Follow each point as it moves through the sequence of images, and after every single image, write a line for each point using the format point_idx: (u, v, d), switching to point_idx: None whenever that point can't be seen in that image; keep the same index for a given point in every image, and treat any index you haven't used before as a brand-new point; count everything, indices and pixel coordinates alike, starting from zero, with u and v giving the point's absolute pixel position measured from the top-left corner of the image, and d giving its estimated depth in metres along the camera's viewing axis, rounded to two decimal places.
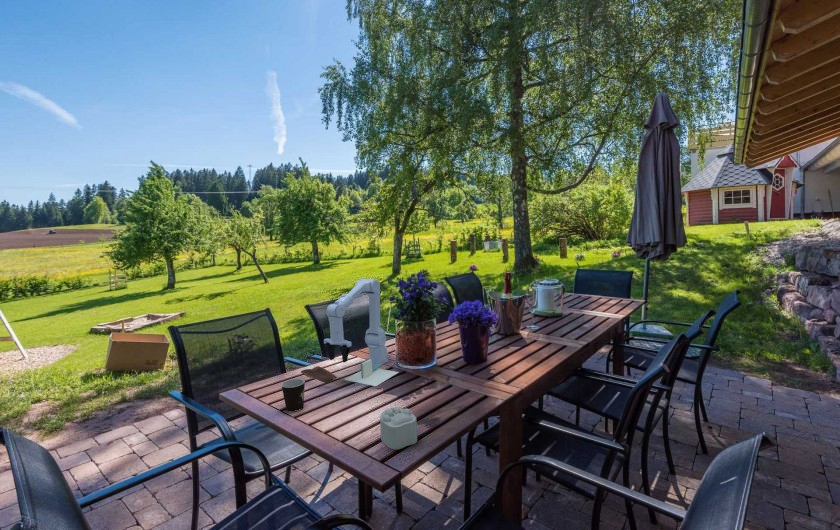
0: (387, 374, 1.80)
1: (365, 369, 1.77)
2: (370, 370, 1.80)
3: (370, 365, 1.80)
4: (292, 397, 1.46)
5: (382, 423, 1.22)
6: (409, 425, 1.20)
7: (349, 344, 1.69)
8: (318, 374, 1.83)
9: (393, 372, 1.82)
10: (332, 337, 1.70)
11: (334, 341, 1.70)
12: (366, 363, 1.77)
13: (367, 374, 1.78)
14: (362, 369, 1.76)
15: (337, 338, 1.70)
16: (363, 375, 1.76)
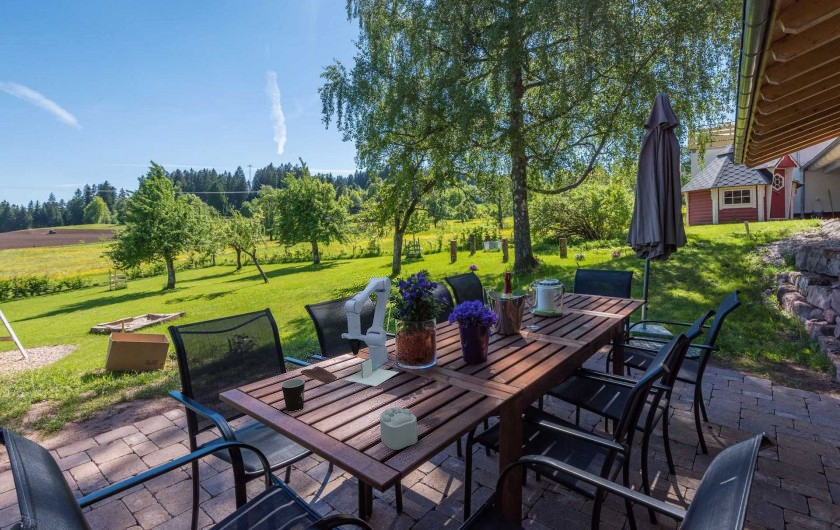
0: (387, 374, 1.80)
1: (365, 369, 1.77)
2: (370, 370, 1.80)
3: (370, 365, 1.80)
4: (292, 397, 1.46)
5: (382, 423, 1.22)
6: (409, 425, 1.20)
7: (366, 338, 1.77)
8: (317, 374, 1.83)
9: (393, 372, 1.82)
10: (350, 332, 1.78)
11: (352, 336, 1.78)
12: (366, 363, 1.77)
13: (367, 374, 1.78)
14: (362, 369, 1.76)
15: (355, 333, 1.78)
16: (363, 375, 1.76)
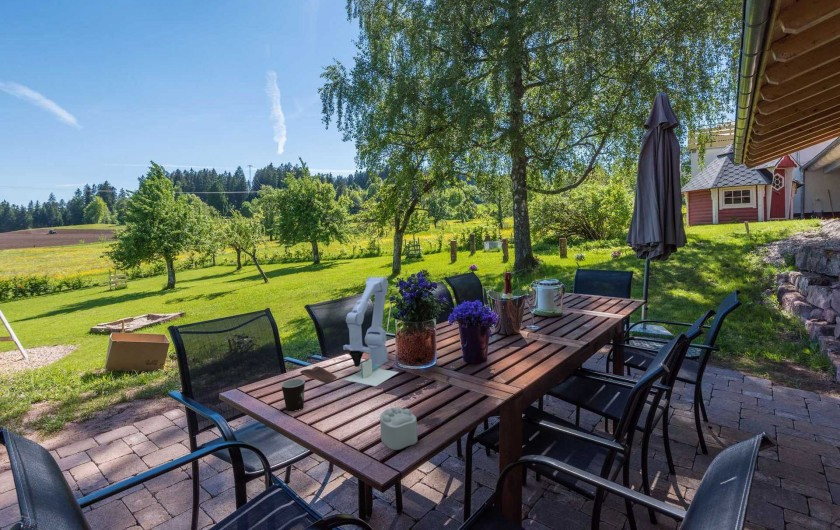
0: (387, 374, 1.80)
1: (365, 369, 1.77)
2: (370, 370, 1.80)
3: (370, 365, 1.80)
4: (292, 397, 1.46)
5: (383, 423, 1.22)
6: (409, 425, 1.20)
7: (368, 350, 1.77)
8: (317, 374, 1.83)
9: (393, 372, 1.82)
10: (351, 344, 1.78)
11: (353, 347, 1.78)
12: (366, 363, 1.77)
13: (367, 374, 1.78)
14: (362, 369, 1.76)
15: (356, 344, 1.78)
16: (363, 375, 1.76)
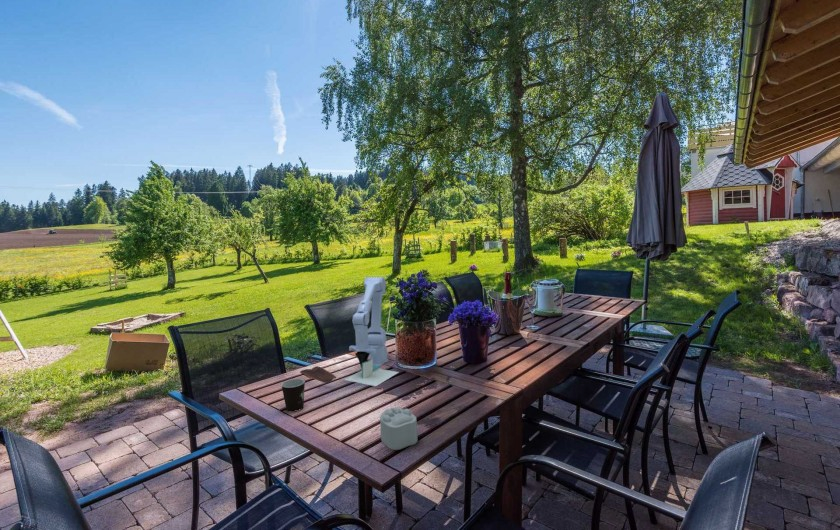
0: (387, 374, 1.80)
1: (366, 369, 1.77)
2: (370, 370, 1.80)
3: (371, 365, 1.80)
4: (292, 397, 1.46)
5: (383, 423, 1.21)
6: (409, 425, 1.20)
7: (374, 351, 1.75)
8: (317, 374, 1.83)
9: (393, 372, 1.82)
10: (358, 344, 1.76)
11: (360, 348, 1.76)
12: (367, 363, 1.77)
13: (367, 374, 1.78)
14: (363, 369, 1.76)
15: (362, 345, 1.76)
16: (363, 375, 1.76)
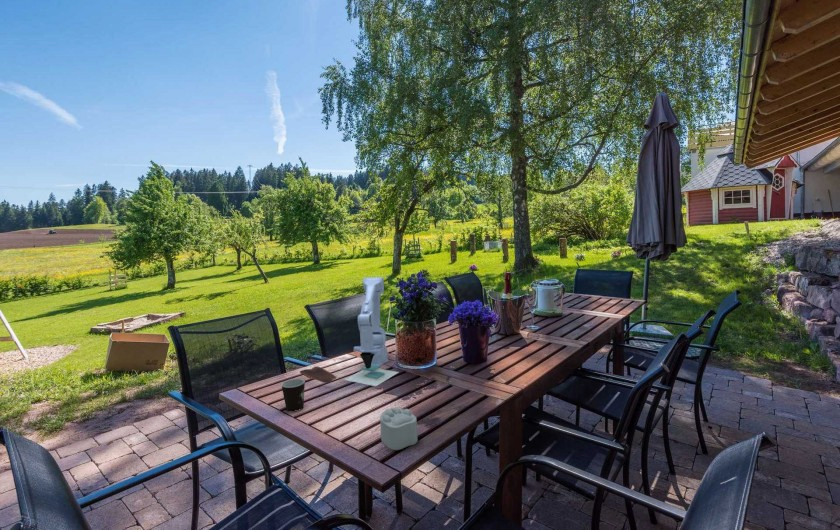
0: (387, 374, 1.80)
1: None
2: None
3: None
4: (292, 397, 1.46)
5: (383, 423, 1.21)
6: (409, 425, 1.20)
7: (379, 352, 1.74)
8: (317, 374, 1.83)
9: (393, 372, 1.82)
10: (363, 345, 1.75)
11: (365, 349, 1.75)
12: None
13: None
14: (371, 378, 1.74)
15: (367, 346, 1.75)
16: (366, 377, 1.76)
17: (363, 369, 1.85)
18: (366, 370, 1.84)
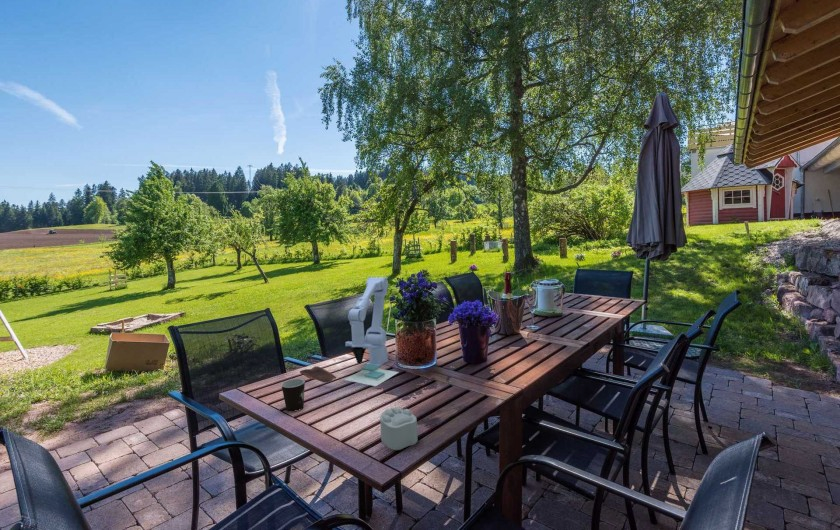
0: (387, 374, 1.80)
1: None
2: None
3: None
4: (292, 397, 1.46)
5: (383, 423, 1.21)
6: (409, 425, 1.20)
7: (370, 347, 1.76)
8: (317, 374, 1.83)
9: (393, 372, 1.82)
10: (354, 340, 1.77)
11: (356, 344, 1.77)
12: None
13: None
14: (371, 378, 1.74)
15: (359, 341, 1.77)
16: (366, 377, 1.76)
17: (363, 369, 1.85)
18: (366, 370, 1.84)
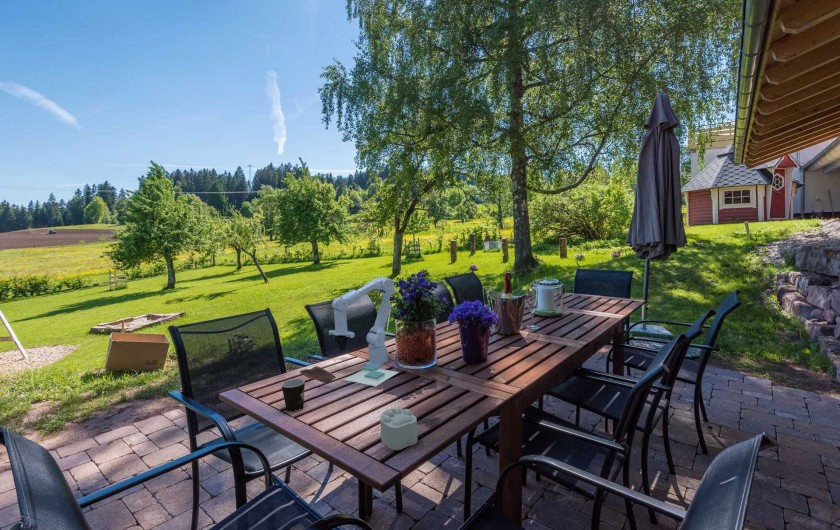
0: (387, 374, 1.80)
1: None
2: None
3: None
4: (292, 397, 1.46)
5: (383, 423, 1.21)
6: (409, 425, 1.20)
7: (352, 335, 1.82)
8: (317, 374, 1.83)
9: (393, 372, 1.82)
10: (337, 328, 1.83)
11: (338, 332, 1.83)
12: None
13: None
14: (371, 378, 1.74)
15: (341, 329, 1.83)
16: (366, 377, 1.76)
17: (363, 369, 1.85)
18: (366, 370, 1.84)
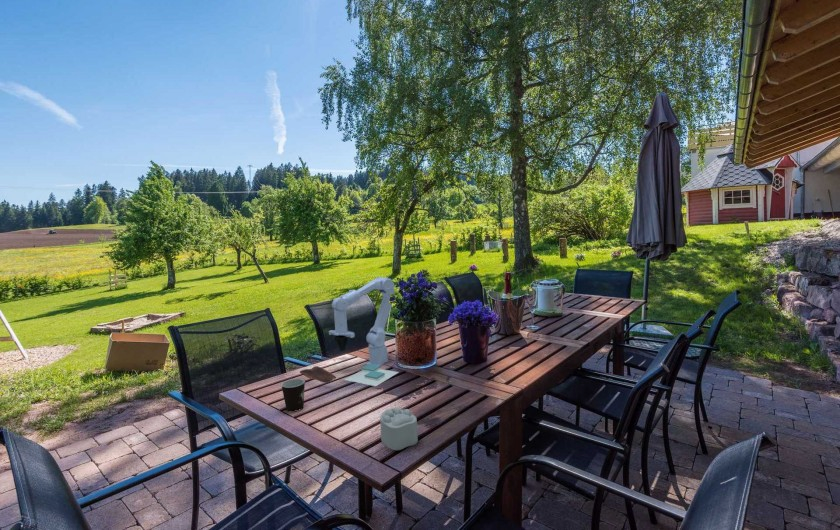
0: (387, 374, 1.80)
1: None
2: None
3: None
4: (292, 397, 1.46)
5: (383, 423, 1.21)
6: (409, 426, 1.20)
7: (352, 335, 1.82)
8: (317, 374, 1.83)
9: (393, 372, 1.82)
10: (337, 328, 1.83)
11: (338, 332, 1.83)
12: None
13: None
14: (371, 378, 1.74)
15: (341, 329, 1.83)
16: (366, 377, 1.76)
17: (363, 369, 1.85)
18: (366, 370, 1.84)
